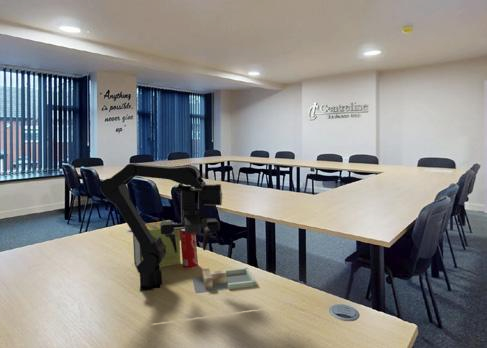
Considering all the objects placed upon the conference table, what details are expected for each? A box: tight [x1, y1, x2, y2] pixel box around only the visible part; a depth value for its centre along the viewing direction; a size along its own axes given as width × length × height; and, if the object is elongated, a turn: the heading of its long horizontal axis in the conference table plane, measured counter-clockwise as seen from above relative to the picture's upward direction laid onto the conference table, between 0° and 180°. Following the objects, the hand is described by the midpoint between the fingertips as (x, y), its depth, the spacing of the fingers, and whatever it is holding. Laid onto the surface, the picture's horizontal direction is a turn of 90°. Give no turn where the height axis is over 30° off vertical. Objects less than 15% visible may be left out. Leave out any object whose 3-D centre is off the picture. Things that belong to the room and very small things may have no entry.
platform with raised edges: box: [192, 267, 258, 294], centre depth 113 cm, size 20×12×2 cm, turn 104°
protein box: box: [132, 219, 181, 269], centre depth 129 cm, size 10×15×16 cm
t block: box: [201, 268, 226, 289], centre depth 112 cm, size 7×8×4 cm
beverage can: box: [180, 229, 199, 270], centre depth 126 cm, size 6×6×15 cm
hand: (190, 251), depth 109 cm, fingers open, 9 cm apart
